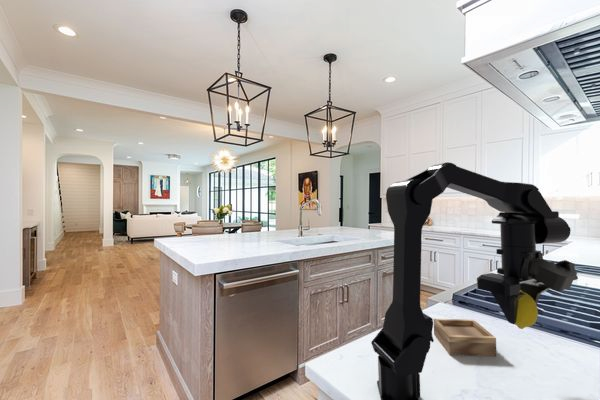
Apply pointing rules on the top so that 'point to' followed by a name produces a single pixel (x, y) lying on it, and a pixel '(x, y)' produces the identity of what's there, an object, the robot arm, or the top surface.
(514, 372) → the top surface
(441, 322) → the tan open box
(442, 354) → the top surface
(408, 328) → the robot arm
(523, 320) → the lemon
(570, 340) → the top surface
